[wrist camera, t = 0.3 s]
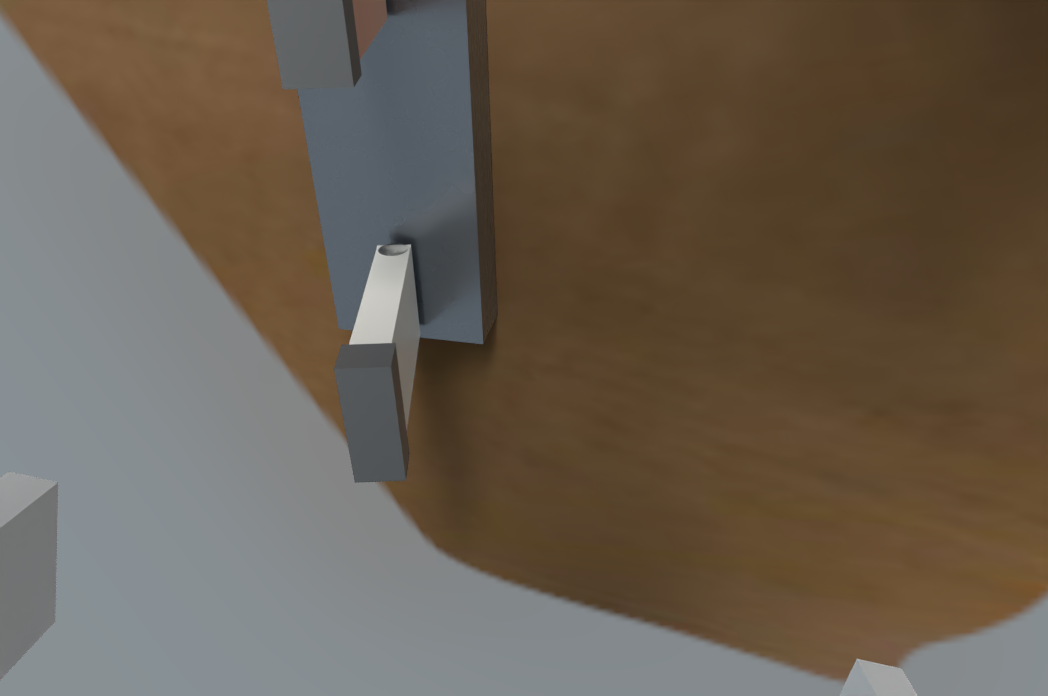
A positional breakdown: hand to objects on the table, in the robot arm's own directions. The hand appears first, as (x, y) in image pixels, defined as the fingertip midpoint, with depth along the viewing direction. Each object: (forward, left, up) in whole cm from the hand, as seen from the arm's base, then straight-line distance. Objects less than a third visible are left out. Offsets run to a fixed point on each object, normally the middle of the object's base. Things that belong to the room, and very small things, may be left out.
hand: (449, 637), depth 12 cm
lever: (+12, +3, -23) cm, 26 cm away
